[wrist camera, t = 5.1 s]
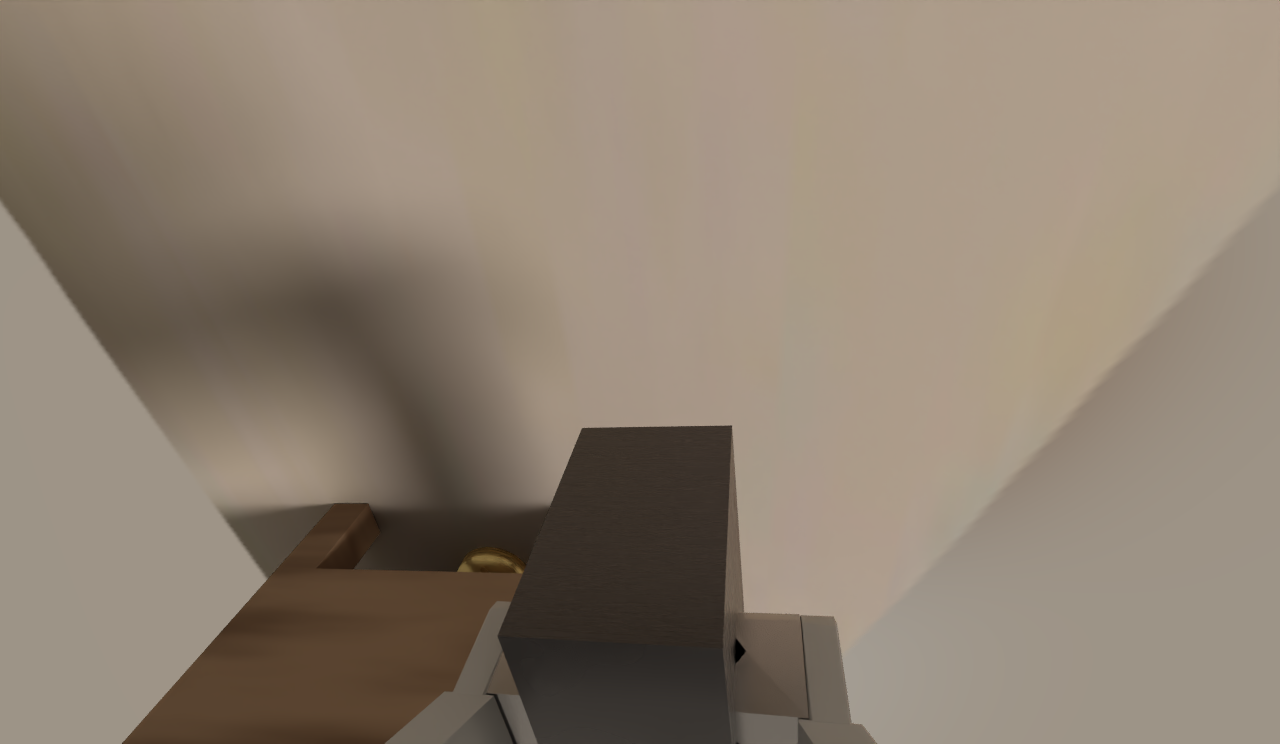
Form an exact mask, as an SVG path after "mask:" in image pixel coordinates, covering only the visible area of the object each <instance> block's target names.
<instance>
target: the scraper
mask: <svg viewBox="0 0 1280 744" xmlns="http://www.w3.org/2000/svg"><path fill="white" fill-rule="evenodd" d="M737 612H738V613H744V603H743V587H742V572H741V557H740V541H739V526H738V511H737V495H736V480H735V465H734V450H733V434H732V426H678V427H616V428H582V430H581V432H580V435H579V437H578V440H577V442H576V444H575V447H574V449H573V452H572V454H571V457H570V459H569V462H568V464H567V467H566V469H565V471H564V474H563V476H562V479H561V481H560V484H559V486H558V489H557V491H556V493H555V496H554V498H553V501H552V503H551V506H550V508H549V511H548V513H547V515H546V518H545V520H544V523H543V525H542V528H541V530H540V533H539V535H538V538H537V540H536V542H535V545H534V547H533V550H532V552H531V555H530V557H529V560H528V562H527V564H526V567H525V569H524V572H523V574H522V577H521V579H520V582H519V584H518V587H517V589H516V591H515V594H514V596H513V599H512V601H511V604H510V606H509V609H508V611H507V613H506V616H505V618H504V621H503V623H502V626H501V628H500V631H499V633H498V639H499V642H500V644H501V647H502V650H503V652H504V655H505V658H506V660H507V663H508V666H509V668H510V671H511V674H512V676H513V679H514V682H515V684H516V687H517V690H518V692H519V695H520V698H521V700H522V703H523V706H524V708H525V711H526V714H527V716H528V719H529V722H530V724H531V727H532V730H533V732H534V735H535V738H536V740H537V743H538V744H739V743H738V742H737V738H736V726H735V715H734V700H735V664H736V663H737V662H738V660H737V647H736V617H737Z"/></svg>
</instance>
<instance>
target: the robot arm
mask: <svg viewBox="0 0 1280 744" xmlns="http://www.w3.org/2000/svg"><path fill="white" fill-rule="evenodd" d="M510 604H511V602H506V601H497V602H496V603H495V604H494V605H493V606H492V607H491V609H490V610H489V612H488V614H487V616H486V618H485V621H484V623H483V625H482V627H481V630H480V632H479V634H478V636H477V639H476V641H475V643H474V645H473V648H472V650H471V652H470V654H469V657H468V659H467V661H466V663H465V666H464V668H463V670H462V672H461V675H460V677H459V679H458V681H457V684H456V686H455V688H454V690H453V692H446V691H444V692H443V693H442V694H441V695H440V696H439V697H438V698H436V699H435V700H434V701H433V702H432V703H431V704H429V705H428V706H427V707H426V708H425V709H424V710H423V711H421V712H420V713H419V714H418V715H417V716H416V717H415V718H413V719H412V720H411V721H410V722H409V723H408V724H407V725H405V726H404V727H403V728H402V729H401V730H400V731H398V732H397V733H396V734H395V735H394V736H393V737H392V738H390V739H389V740H388V741H387V742H386V743H385V744H538V743H537V740H536V738H535V735H534V732H533V730H532V727H531V724H530V722H529V719H528V716H527V714H526V711H525V708H524V706H523V703H522V700H521V698H520V695H519V692H518V690H517V687H516V684H515V682H514V679H513V676H512V674H511V671H510V668H509V666H508V663H507V660H506V658H505V655H504V652H503V650H502V647H501V644H500V642H499V639H498V633H499V631H500V628H501V626H502V623H503V621H504V618H505V616H506V613H507V611H508V609H509V606H510ZM736 647H737V660H738V662H737V663H736V664H735V700H734V715H735V726H736V738H737V742H738V743H739V744H877V743H876V742H875V740H874V739H873V738H872V737H871V735H870V734H869V733H868V731H867V730H866V729H865V727H864V726H863V725H861V724H853V723H851V716H850V710H849V703H848V696H847V689H846V682H845V676H844V669H843V662H842V655H841V648H840V641H839V634H838V628H837V623H836V621H835V619H834V617H832V616H804V615H801V616H800V615H799V614H771V613H738V612H737V617H736Z"/></svg>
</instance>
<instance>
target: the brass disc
mask: <svg viewBox="0 0 1280 744" xmlns="http://www.w3.org/2000/svg"><path fill="white" fill-rule="evenodd" d="M525 567H526V564H525V563H524V562H523V561H522V560H521V559H519V558H518V557H517V556H515V555H514V554H512V553H510V552H508V551H505V550H502V549H499V548H493V547H482V548H477V549H474V550H472V551H470V552H469V553H468V554H467V555H466V556H465V557H464V559H463V561H462V563H461V565H460V566H459V568H458V570H457V572H482V573H523V572H524V569H525Z"/></svg>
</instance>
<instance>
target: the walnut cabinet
mask: <svg viewBox="0 0 1280 744" xmlns="http://www.w3.org/2000/svg"><path fill="white" fill-rule="evenodd" d="M379 534H380V530H379V528H378V525H377V523H376V521H375V519H374V516H373V514H372V512H371V509H370V507H369V505H368V504H334V505H333V506H332V507H331V509H330V510H329V511H328V512H327V513H326V514H325V515H324V516H323V518H322V519H321V520H320V521H319V522H318V523H317V524H316V525H315V527H314V528H313V529H312V530H311V531H310V532H309V533H308V534H307V536H306V537H305V538H304V539H303V540H302V541H301V542H300V544H299V545H298V546H297V547H296V548H295V549H294V550H293V551H292V553H291V554H290V555H289V556H288V557H287V558H286V559H285V560H284V562H283V563H282V564H281V565H280V566H279V567H278V568H277V569H276V571H275V572H274V573H273V574H272V575H271V576H270V577H269V578H268V580H267V581H266V582H265V583H264V584H263V585H262V586H261V588H260V589H259V590H258V591H257V592H256V593H255V594H254V595H253V596H252V598H251V599H250V600H249V601H248V602H247V603H246V604H245V606H244V607H243V608H242V609H241V610H240V611H239V612H238V614H236V616H235V617H234V618H233V619H232V620H231V621H230V622H229V624H228V625H227V626H226V627H225V628H224V629H223V630H222V631H221V633H220V634H219V635H218V636H217V637H216V638H215V639H214V640H213V642H212V643H211V644H210V645H209V646H208V647H207V648H206V649H205V651H204V652H203V653H202V654H201V655H200V656H199V657H198V658H197V660H196V661H195V662H194V663H193V664H192V665H191V667H189V669H188V670H187V671H186V672H185V673H184V674H183V675H182V676H181V678H180V679H179V680H178V681H177V682H176V683H175V684H174V686H173V687H172V688H171V689H170V690H169V691H168V692H167V693H166V695H165V696H164V697H163V698H162V699H161V700H160V701H159V702H158V704H157V705H156V706H155V707H154V708H153V709H152V710H151V711H150V713H149V714H148V715H147V716H146V717H145V718H144V719H143V720H142V722H141V723H140V724H139V725H138V726H137V727H136V728H135V729H134V731H133V732H132V733H131V734H130V735H129V736H128V737H127V739H126V740H125V741H124V742H123V743H122V744H385V743H386V742H387V741H388V740H389V739H390V738H392V737H393V736H394V735H395V734H396V733H397V732H398V731H400V730H401V729H402V728H403V727H404V726H405V725H407V724H408V723H409V722H410V721H411V720H412V719H413V718H415V717H416V716H417V715H418V714H419V713H420V712H421V711H423V710H424V709H425V708H426V707H427V706H428V705H429V704H431V703H432V702H433V701H434V700H435V699H436V698H438V697H439V696H440V695H441V694H442V693H443V692H444V691H446V692H453V690H454V688H455V686H456V684H457V681H458V679H459V677H460V675H461V672H462V670H463V668H464V666H465V663H466V661H467V659H468V657H469V654H470V652H471V650H472V648H473V645H474V643H475V641H476V639H477V636H478V634H479V632H480V630H481V627H482V625H483V623H484V621H485V618H486V616H487V614H488V612H489V610H490V609H491V607H492V606H493V605H494V604H495V603H496V602H497V601H506V602H511V601H512V599H513V596H514V594H515V591H516V589H517V587H518V584H519V582H520V579H521V577H522V574H523V573H482V572H441V571H400V570H358V569H354V567H355V566H356V565H357V563H358V562H359V561H360V559H361V558H362V557H363V555H364V554H365V553H366V551H367V550H368V549H369V547H370V546H371V545H372V543H373V542H374V541H375V539H376V538H377V536H378V535H379Z"/></svg>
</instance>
